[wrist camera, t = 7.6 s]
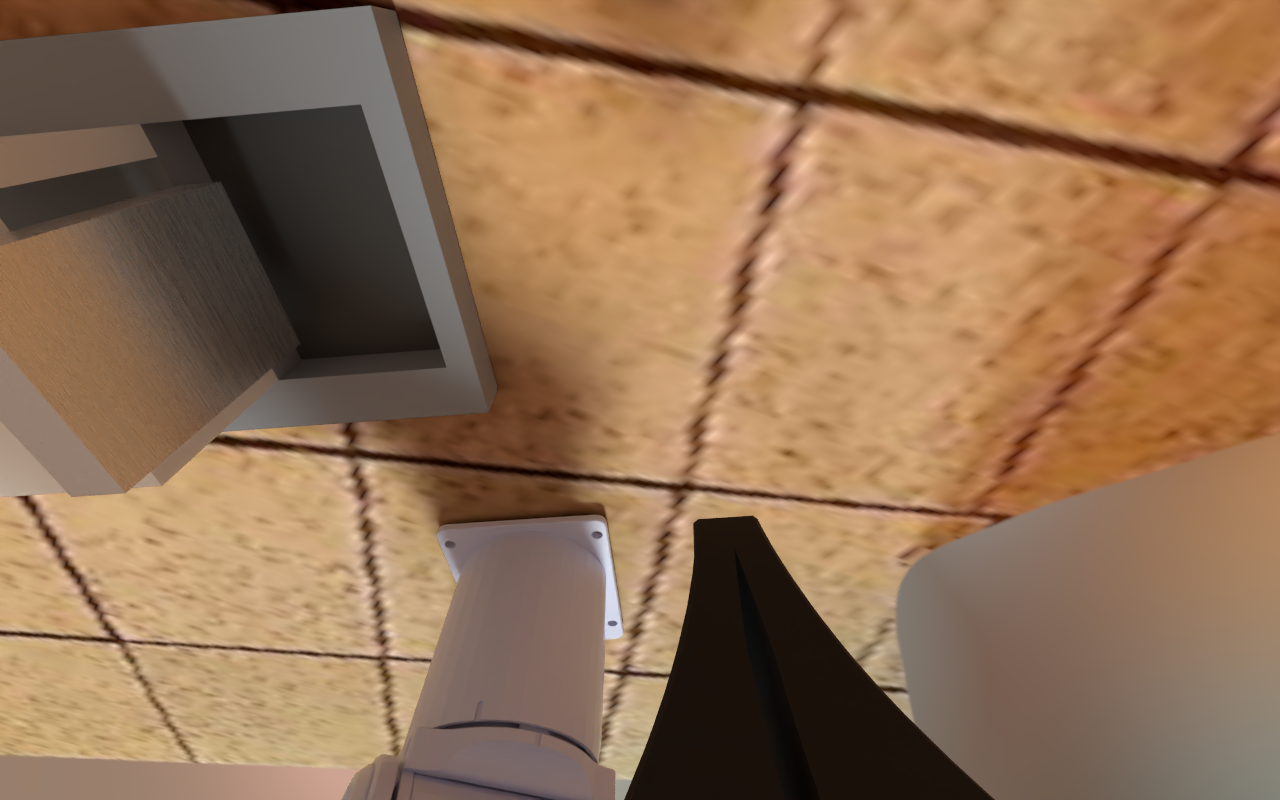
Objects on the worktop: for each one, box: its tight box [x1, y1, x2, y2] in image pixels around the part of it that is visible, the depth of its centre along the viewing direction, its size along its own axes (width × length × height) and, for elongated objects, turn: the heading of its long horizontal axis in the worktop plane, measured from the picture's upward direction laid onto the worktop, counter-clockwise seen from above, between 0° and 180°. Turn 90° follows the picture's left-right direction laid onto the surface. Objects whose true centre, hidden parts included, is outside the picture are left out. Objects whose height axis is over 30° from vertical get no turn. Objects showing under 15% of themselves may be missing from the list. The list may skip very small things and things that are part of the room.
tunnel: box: [0, 124, 278, 497], centre depth 14 cm, size 8×6×5 cm
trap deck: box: [0, 5, 498, 432], centre depth 17 cm, size 12×22×2 cm, turn 94°
